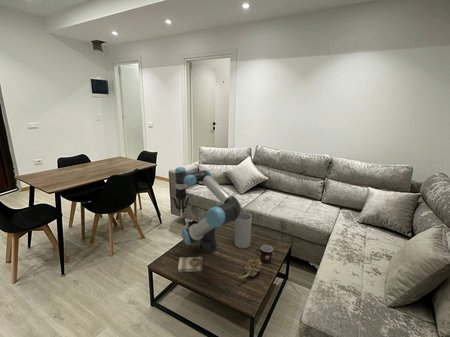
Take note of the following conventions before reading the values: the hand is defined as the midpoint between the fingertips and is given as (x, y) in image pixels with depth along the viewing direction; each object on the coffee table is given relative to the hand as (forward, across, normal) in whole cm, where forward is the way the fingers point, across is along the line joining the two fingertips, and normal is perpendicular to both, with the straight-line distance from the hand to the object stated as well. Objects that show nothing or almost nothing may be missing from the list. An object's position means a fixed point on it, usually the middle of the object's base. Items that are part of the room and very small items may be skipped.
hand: (181, 216), depth 185 cm
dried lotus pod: (+25, -47, +38) cm, 66 cm away
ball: (+23, -11, +26) cm, 36 cm away
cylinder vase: (+25, -48, +2) cm, 54 cm away
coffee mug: (+25, -61, +22) cm, 69 cm away
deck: (+24, -8, +26) cm, 37 cm away
